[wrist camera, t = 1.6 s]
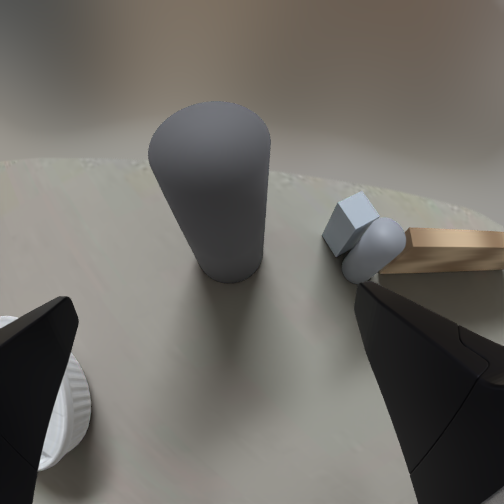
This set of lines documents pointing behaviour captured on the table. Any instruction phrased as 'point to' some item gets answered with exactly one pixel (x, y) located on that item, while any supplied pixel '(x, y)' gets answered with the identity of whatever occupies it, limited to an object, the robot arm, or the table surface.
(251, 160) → the gray cylinder
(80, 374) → the ramekin
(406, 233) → the door
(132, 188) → the table surface
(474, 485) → the robot arm
